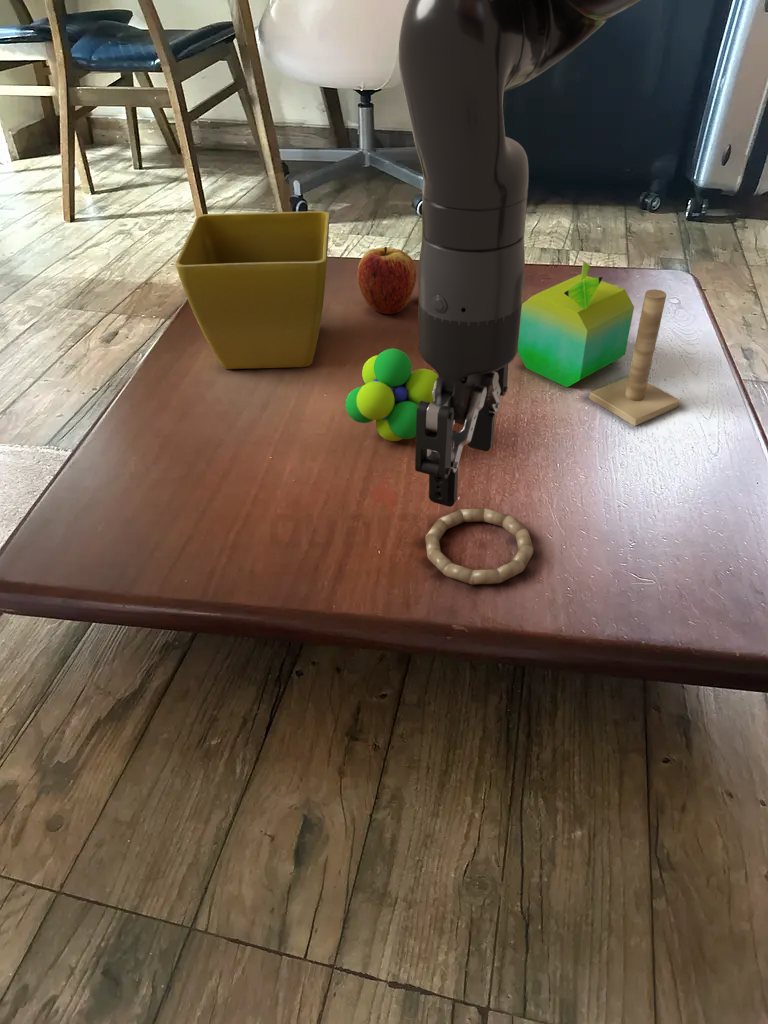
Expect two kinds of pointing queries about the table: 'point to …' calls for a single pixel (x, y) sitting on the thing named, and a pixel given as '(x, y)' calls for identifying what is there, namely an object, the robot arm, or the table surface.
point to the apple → (386, 279)
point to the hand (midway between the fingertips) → (462, 473)
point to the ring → (479, 575)
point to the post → (639, 372)
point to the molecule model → (391, 394)
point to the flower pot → (257, 285)
